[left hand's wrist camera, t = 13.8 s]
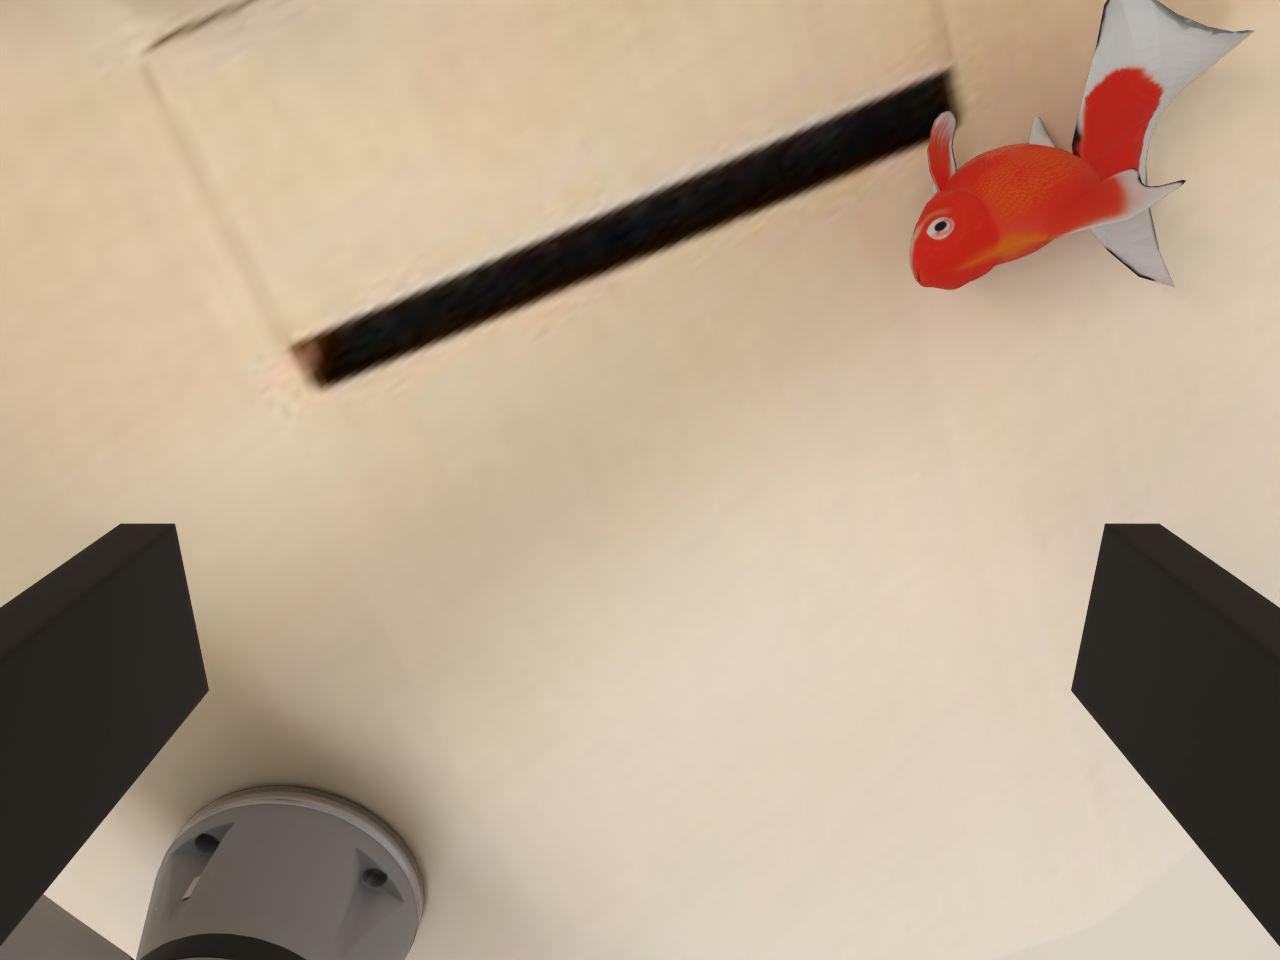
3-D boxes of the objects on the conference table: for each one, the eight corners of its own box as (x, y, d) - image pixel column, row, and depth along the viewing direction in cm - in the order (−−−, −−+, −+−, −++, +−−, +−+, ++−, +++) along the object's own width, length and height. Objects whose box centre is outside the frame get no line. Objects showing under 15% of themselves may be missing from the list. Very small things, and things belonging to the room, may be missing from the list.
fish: (837, 32, 32) (1063, 75, 25) (1127, -57, 37) (1387, -43, 30) (836, 294, 39) (1013, 387, 32) (1081, 190, 44) (1284, 250, 36)
